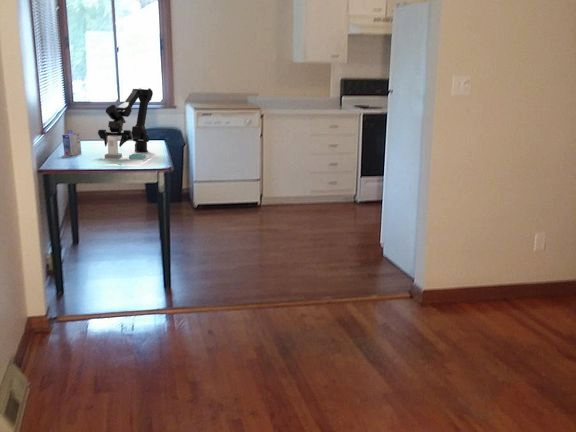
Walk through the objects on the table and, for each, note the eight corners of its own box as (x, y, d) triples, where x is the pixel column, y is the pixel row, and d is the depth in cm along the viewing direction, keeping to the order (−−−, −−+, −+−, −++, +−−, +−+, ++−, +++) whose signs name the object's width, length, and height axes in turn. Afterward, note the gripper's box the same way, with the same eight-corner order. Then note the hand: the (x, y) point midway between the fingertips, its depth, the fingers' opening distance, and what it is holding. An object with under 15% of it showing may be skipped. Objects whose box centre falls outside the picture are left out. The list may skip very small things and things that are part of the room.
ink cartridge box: (74, 153, 370) (72, 128, 367) (81, 153, 369) (80, 129, 365) (63, 155, 361) (61, 130, 358) (71, 156, 360) (69, 131, 356)
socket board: (101, 160, 345) (100, 155, 345) (108, 157, 357) (108, 152, 356) (143, 161, 344) (143, 156, 344) (149, 158, 356) (149, 153, 355)
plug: (110, 156, 353) (109, 136, 350) (118, 157, 352) (117, 136, 350) (108, 158, 348) (106, 137, 345) (115, 158, 348) (114, 137, 345)
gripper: (97, 115, 350) (92, 136, 342) (130, 116, 349) (125, 137, 341) (103, 127, 360) (97, 149, 352) (134, 128, 359) (130, 149, 351)
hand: (112, 146), depth 349 cm, fingers open, 8 cm apart
